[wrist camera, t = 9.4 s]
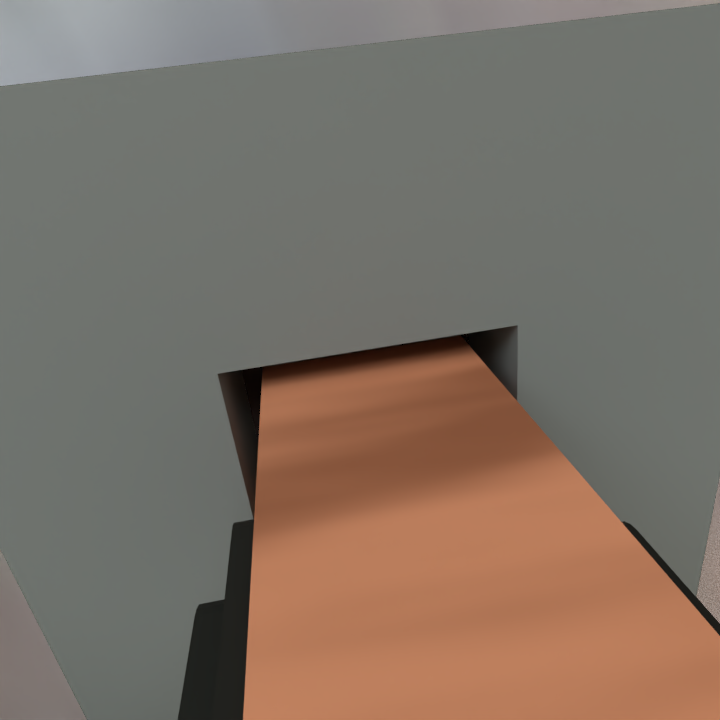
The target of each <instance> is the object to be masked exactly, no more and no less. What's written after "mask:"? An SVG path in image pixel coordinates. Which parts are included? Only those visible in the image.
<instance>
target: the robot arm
mask: <svg viewBox="0 0 720 720" xmlns="http://www.w3.org/2000/svg"><path fill="white" fill-rule="evenodd" d="M622 523H623V524H624V526H625V527H626V528H627V529H628V530H629V531H630V532H631V534H632V535H633V536H634V537H635V538H636V539H637V541H638V542H639V543H640V544H641V545H642V546H643V548H644V549H645V550H646V551H647V552H648V553H649V555H650V556H651V557H652V558H653V559H654V560H655V561H656V563H657V564H658V565H659V566H660V567H661V568H662V570H663V571H664V572H665V573H666V574H667V575H668V577H669V578H670V579H671V580H672V581H673V582H674V583H675V585H676V586H677V587H678V588H679V589H680V590H681V592H682V593H683V594H684V595H685V596H686V597H687V599H688V600H689V601H690V602H691V603H692V604H693V605H694V607H695V608H696V609H697V610H698V611H699V612H700V614H701V615H702V616H703V617H704V618H705V619H706V621H707V622H708V623H709V624H710V625H711V626H712V628H713V629H714V630H715V631H716V632H717V633H718V634H719V636H720V624H719V622H718V621H717V620H716V619H715V618H714V617H713V616H712V614H711V613H710V612H709V611H708V610H707V609H706V608H705V607H704V605H703V604H702V603H701V602H700V601H699V600H698V599H697V597H696V596H695V595H694V594H693V593H692V592H691V591H690V589H689V588H688V587H687V586H686V585H685V584H684V583H683V582H682V580H681V579H680V578H679V577H678V576H677V575H676V574H675V572H674V571H673V570H672V569H671V568H670V567H669V566H668V565H667V563H666V562H665V561H664V560H663V559H662V558H661V557H660V555H659V554H658V553H657V552H656V551H655V550H654V549H653V547H652V546H651V545H650V544H649V543H648V542H647V541H646V540H645V538H644V537H643V536H642V535H641V534H640V533H639V532H638V530H637V529H635V528H634V527H633V526H632V525H631V524H630V523H627V522H625V521H623V522H622ZM253 531H254V519H251V520H246V521H241V522H235V523H233V526H232V534H231V543H230V553H229V562H228V571H227V580H226V589H225V599H223V600H218V601H213V602H208V603H203V604H199V605H198V607H197V609H196V613H195V617H194V623H193V629H192V635H191V641H190V647H189V653H188V659H187V666H186V672H185V678H184V684H183V690H182V696H181V702H180V708H179V714H178V720H243V712H244V694H245V676H246V658H247V639H248V621H249V603H250V585H251V567H252V549H253Z"/></svg>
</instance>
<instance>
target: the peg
mask: <svg viewBox="0 0 720 720" xmlns="http://www.w3.org/2000/svg"><path fill="white" fill-rule="evenodd" d="M243 720H720V636H719V634H718V633H717V632H716V631H715V630H714V629H713V628H712V626H711V625H710V624H709V623H708V622H707V621H706V619H705V618H704V617H703V616H702V615H701V614H700V612H699V611H698V610H697V609H696V608H695V607H694V605H693V604H692V603H691V602H690V601H689V600H688V599H687V597H686V596H685V595H684V594H683V593H682V592H681V590H680V589H679V588H678V587H677V586H676V585H675V583H674V582H673V581H672V580H671V579H670V578H669V577H668V575H667V574H666V573H665V572H664V571H663V570H662V568H661V567H660V566H659V565H658V564H657V563H656V561H655V560H654V559H653V558H652V557H651V556H650V555H649V553H648V552H647V551H646V550H645V549H644V548H643V546H642V545H641V544H640V543H639V542H638V541H637V539H636V538H635V537H634V536H633V535H632V534H631V532H630V531H629V530H628V529H627V528H626V527H625V526H624V524H623V523H622V522H621V521H620V520H619V519H618V517H617V516H616V515H615V514H614V513H613V512H612V510H611V509H610V508H609V507H608V506H607V505H606V504H605V502H604V501H603V500H602V499H601V498H600V497H599V495H598V494H597V493H596V492H595V491H594V490H593V488H592V487H591V486H590V485H589V484H588V483H587V481H586V480H585V479H584V478H583V477H582V476H581V475H580V473H579V472H578V471H577V470H576V469H575V468H574V466H573V465H572V464H571V463H570V462H569V461H568V459H567V458H566V457H565V456H564V455H563V454H562V453H561V451H560V450H559V449H558V448H557V447H556V446H555V444H554V443H553V442H552V441H551V440H550V439H549V437H548V436H547V435H546V434H545V433H544V432H543V430H542V429H541V428H540V427H539V426H538V425H537V424H536V422H535V421H534V420H533V419H532V418H531V417H530V415H529V414H528V413H527V412H526V411H525V410H524V408H523V407H522V406H521V405H520V404H519V403H518V402H517V400H516V399H515V398H514V397H513V396H512V395H511V393H510V392H509V391H508V390H507V389H506V388H505V386H504V385H503V384H502V383H501V382H500V381H499V380H498V378H497V377H496V376H495V375H494V374H493V373H492V371H491V370H490V369H489V368H488V367H487V366H486V364H485V363H484V362H483V361H482V360H481V359H480V357H479V356H478V355H477V354H476V353H475V352H474V351H473V349H472V348H471V347H470V346H469V345H468V344H467V342H466V341H465V340H464V339H463V338H462V337H461V336H455V337H448V338H442V339H436V340H430V341H424V342H417V343H411V344H405V345H399V346H393V347H387V348H380V349H374V350H368V351H362V352H356V353H349V354H343V355H337V356H331V357H325V358H318V359H312V360H306V361H300V362H294V363H287V364H281V365H275V366H269V367H263V369H262V387H261V405H260V423H259V441H258V459H257V477H256V495H255V513H254V531H253V549H252V567H251V585H250V603H249V621H248V639H247V658H246V676H245V694H244V712H243Z"/></svg>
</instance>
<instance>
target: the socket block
mask: <svg viewBox="0 0 720 720" xmlns="http://www.w3.org/2000/svg"><path fill="white" fill-rule="evenodd" d="M467 333H469V346H470V347H471V348H472V349H473V351H474V352H475V353H476V354H477V355H478V356H479V357H480V359H481V360H482V361H483V362H484V363H485V364H486V366H487V367H488V368H489V369H490V370H491V371H492V373H493V374H494V375H495V376H496V377H497V378H498V380H499V381H500V382H501V383H502V384H503V385H504V386H505V388H506V389H507V390H508V391H509V392H510V393H511V395H512V396H513V397H514V398H515V399H516V400H517V402H518V403H519V404H520V405H521V406H522V407H523V408H524V410H525V411H526V412H527V413H528V414H529V415H530V417H531V418H532V419H533V420H534V421H535V422H536V424H537V425H538V426H539V427H540V428H541V429H542V430H543V432H544V433H545V434H546V435H547V436H548V437H549V439H550V440H551V441H552V442H553V443H554V444H555V446H556V447H557V448H558V449H559V450H560V451H561V453H562V454H563V455H564V456H565V457H566V458H567V459H568V461H569V462H570V463H571V464H572V465H573V466H574V468H575V469H576V470H577V471H578V472H579V473H580V475H581V476H582V477H583V478H584V479H585V480H586V481H587V483H588V484H589V485H590V486H591V487H592V488H593V490H594V491H595V492H596V493H597V494H598V495H599V497H600V498H601V499H602V500H603V501H604V502H605V504H606V505H607V506H608V507H609V508H610V509H611V510H612V512H613V513H614V514H615V515H616V516H617V517H618V519H619V520H620V521H621V522H623V521H625V522H627V523H630V524H631V525H632V526H633V527H634V528H635V529H637V530H638V532H639V533H640V534H641V535H642V536H643V537H644V538H645V540H646V541H647V542H648V543H649V544H650V545H651V546H652V547H653V549H654V550H655V551H656V552H657V553H658V554H659V555H660V557H661V558H662V559H663V560H664V561H665V562H666V563H667V565H668V566H669V567H670V568H671V569H672V570H673V571H674V572H675V574H676V575H677V576H678V577H679V578H680V579H681V580H682V582H683V583H684V584H685V585H686V586H687V587H688V588H689V589H690V591H691V592H692V593H693V594H694V595H695V596H696V595H697V590H698V585H699V580H700V575H701V569H702V564H703V559H704V554H705V549H706V544H707V539H708V534H709V528H710V523H711V518H712V513H713V508H714V503H715V498H716V492H717V487H718V482H719V477H720V3H718V4H710V5H701V6H692V7H684V8H675V9H666V10H658V11H649V12H640V13H632V14H623V15H614V16H606V17H597V18H588V19H580V20H571V21H562V22H554V23H545V24H536V25H528V26H519V27H510V28H502V29H493V30H484V31H476V32H467V33H459V34H450V35H441V36H433V37H424V38H415V39H407V40H398V41H389V42H381V43H372V44H363V45H355V46H346V47H337V48H329V49H320V50H311V51H303V52H294V53H285V54H277V55H268V56H259V57H251V58H242V59H233V60H225V61H216V62H207V63H199V64H190V65H181V66H173V67H164V68H155V69H147V70H138V71H129V72H121V73H112V74H103V75H95V76H86V77H77V78H69V79H60V80H51V81H43V82H34V83H25V84H17V85H8V86H0V550H1V551H2V553H3V555H4V557H5V559H6V561H7V563H8V565H9V567H10V569H11V571H12V573H13V575H14V577H15V579H16V581H17V583H18V585H19V587H20V589H21V591H22V593H23V595H24V597H25V599H26V601H27V603H28V605H29V607H30V609H31V611H32V613H33V614H34V616H35V618H36V620H37V622H38V624H39V626H40V628H41V630H42V632H43V634H44V636H45V638H46V640H47V642H48V644H49V646H50V648H51V650H52V652H53V654H54V656H55V658H56V660H57V662H58V664H59V666H60V668H61V670H62V672H63V674H64V675H65V677H66V679H67V681H68V683H69V685H70V687H71V689H72V691H73V693H74V695H75V697H76V699H77V701H78V703H79V705H80V707H81V709H82V711H83V713H84V715H85V717H86V719H87V720H178V714H179V708H180V702H181V696H182V690H183V684H184V678H185V672H186V666H187V659H188V653H189V647H190V641H191V635H192V629H193V623H194V617H195V613H196V609H197V607H198V605H199V604H203V603H208V602H213V601H218V600H223V599H225V589H226V580H227V571H228V562H229V553H230V543H231V534H232V526H233V523H235V522H241V521H246V520H251V519H254V513H255V495H256V477H257V459H258V439H257V435H256V431H255V426H254V422H253V417H252V413H251V409H250V404H249V400H248V395H247V391H246V386H245V382H244V378H243V373H242V370H244V369H250V368H256V367H262V366H269V365H275V364H281V363H287V362H293V361H300V360H306V359H312V358H318V357H324V356H331V355H337V354H343V353H349V352H355V351H361V350H368V349H374V348H380V347H386V346H392V345H399V344H405V343H411V342H417V341H423V340H430V339H436V338H442V337H448V336H454V335H460V334H467Z"/></svg>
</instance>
